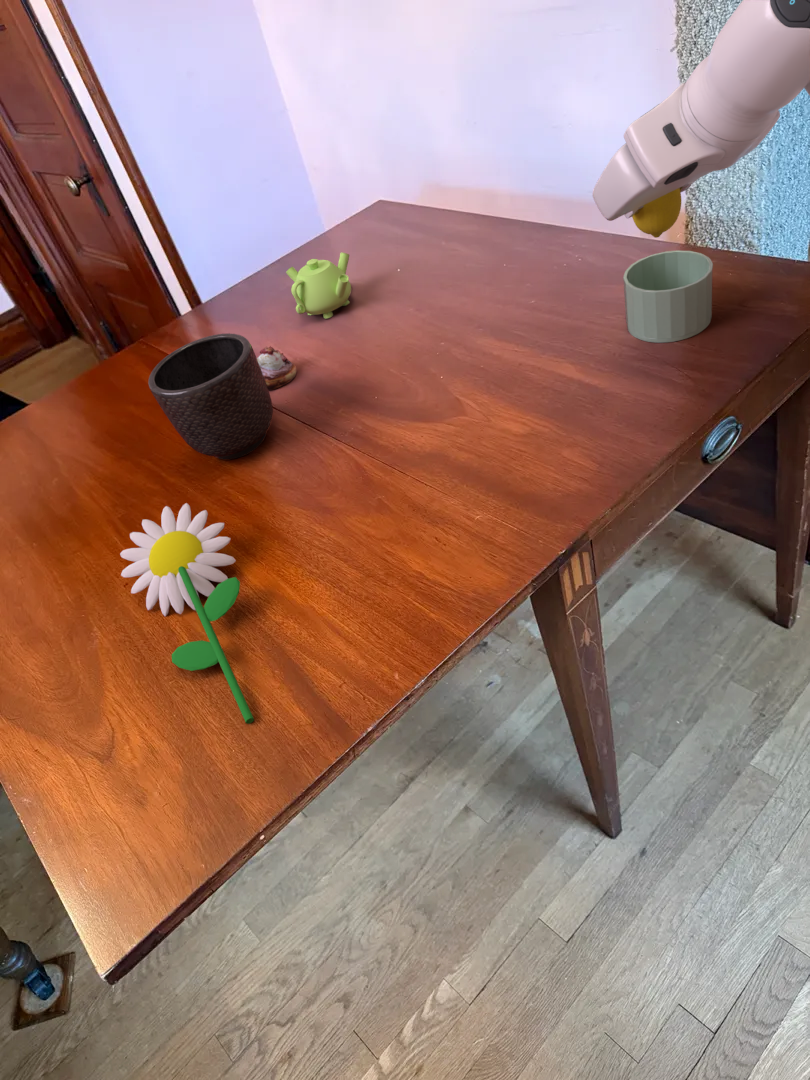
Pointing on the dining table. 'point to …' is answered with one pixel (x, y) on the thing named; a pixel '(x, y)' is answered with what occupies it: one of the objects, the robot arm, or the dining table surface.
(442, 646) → the dining table surface
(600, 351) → the dining table surface
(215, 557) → the decorative flower
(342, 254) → the teapot
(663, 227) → the lemon
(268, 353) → the pastry
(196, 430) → the planter
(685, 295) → the cup
